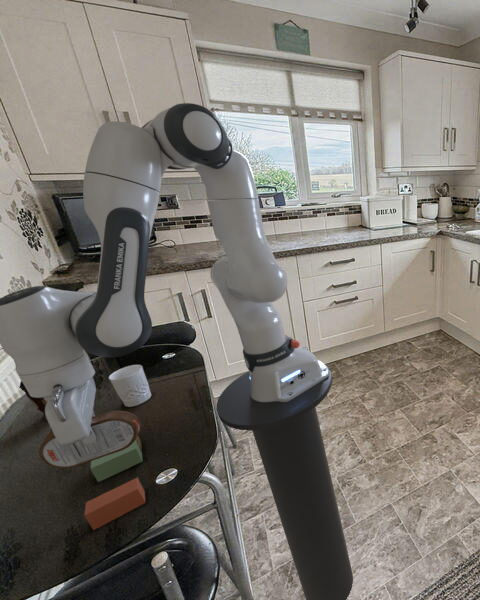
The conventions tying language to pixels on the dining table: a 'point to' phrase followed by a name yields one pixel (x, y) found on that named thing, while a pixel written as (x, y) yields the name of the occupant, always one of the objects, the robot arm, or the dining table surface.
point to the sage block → (116, 462)
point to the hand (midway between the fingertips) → (91, 434)
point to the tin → (109, 439)
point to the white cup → (131, 385)
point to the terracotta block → (114, 503)
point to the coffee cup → (35, 400)
